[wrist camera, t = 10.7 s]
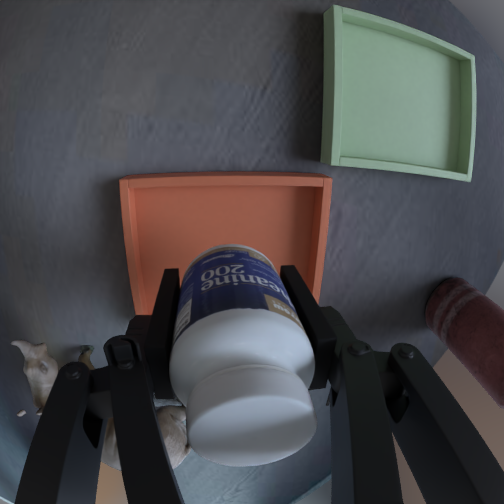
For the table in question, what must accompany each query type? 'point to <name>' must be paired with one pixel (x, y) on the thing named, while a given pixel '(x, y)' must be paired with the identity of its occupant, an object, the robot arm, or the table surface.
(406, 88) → the sage tray
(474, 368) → the can
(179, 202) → the terracotta tray
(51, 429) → the robot arm
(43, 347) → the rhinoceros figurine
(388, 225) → the table surface
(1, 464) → the table surface
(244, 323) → the pill bottle
